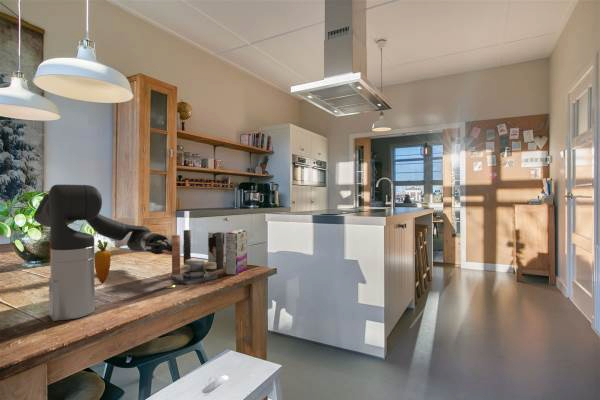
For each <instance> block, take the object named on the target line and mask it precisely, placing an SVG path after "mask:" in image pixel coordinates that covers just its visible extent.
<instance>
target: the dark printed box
mask: <svg viewBox="0 0 600 400" xmlns="http://www.w3.org/2000/svg"><path fill="white" fill-rule="evenodd" d="M216 232H223V268H222V269H225V256H226V240H225V239H226V238H225V233H226V232H225V231H223V230H212V231H208V232H207V233H208V234H207V235H208V236H207V237H208V238H207V252H208V253H207V262H216Z"/></svg>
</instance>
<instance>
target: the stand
mask: <svg viewBox="0 0 600 400" xmlns="http://www.w3.org/2000/svg"><path fill="white" fill-rule="evenodd" d="M171 279H173V280H175V281H177V282H179V283H182V284H184V285H186V286H187V285H192V284H196V283H201V282H206V281H211V280H217V279H218V275H217V274H214V273H211V272H208V271H207V269H204V270H201V271H194V272H189V271H187V272H184V273H181V274H178V275H172V274H171ZM165 286H166V289H174V288H177V285H176V284H167V285H165Z"/></svg>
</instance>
